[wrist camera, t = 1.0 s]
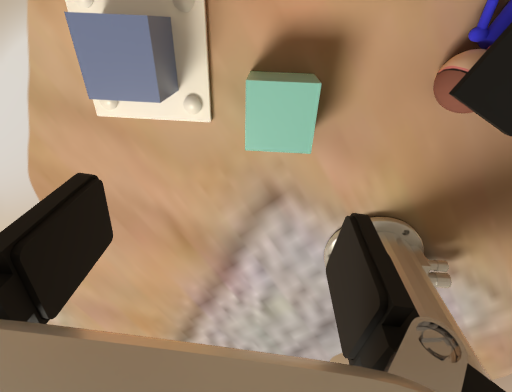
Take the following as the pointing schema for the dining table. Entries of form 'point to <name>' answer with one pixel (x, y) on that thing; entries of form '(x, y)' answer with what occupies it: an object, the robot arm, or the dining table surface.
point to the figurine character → (482, 72)
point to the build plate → (185, 60)
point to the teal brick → (281, 111)
